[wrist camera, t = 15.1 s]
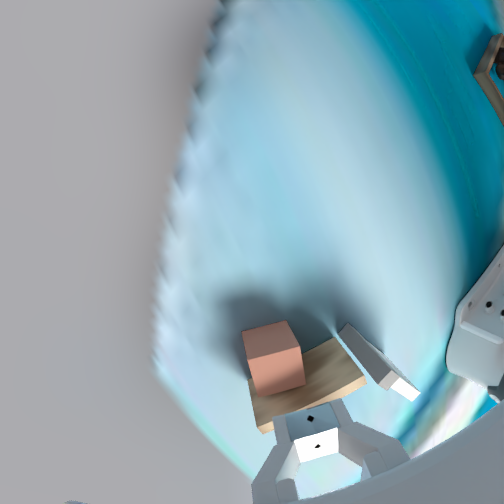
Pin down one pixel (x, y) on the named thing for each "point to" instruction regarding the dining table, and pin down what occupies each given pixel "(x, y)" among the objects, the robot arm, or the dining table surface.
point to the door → (311, 384)
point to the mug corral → (483, 78)
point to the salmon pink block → (274, 358)
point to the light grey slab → (377, 363)
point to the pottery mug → (500, 63)
